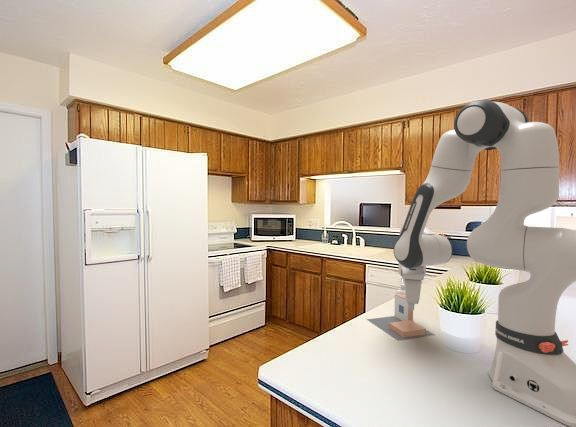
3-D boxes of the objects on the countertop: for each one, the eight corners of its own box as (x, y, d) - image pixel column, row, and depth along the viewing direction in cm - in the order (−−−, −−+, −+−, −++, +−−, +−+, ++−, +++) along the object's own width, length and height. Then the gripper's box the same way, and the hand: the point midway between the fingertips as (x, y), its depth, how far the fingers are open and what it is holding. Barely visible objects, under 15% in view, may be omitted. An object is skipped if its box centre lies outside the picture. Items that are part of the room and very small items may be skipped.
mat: (435, 335, 102) (435, 335, 102) (398, 341, 97) (398, 340, 97) (399, 316, 120) (399, 315, 120) (366, 320, 116) (366, 319, 116)
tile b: (412, 324, 111) (413, 300, 111) (408, 324, 111) (408, 300, 110) (398, 316, 119) (399, 293, 119) (394, 317, 118) (394, 294, 118)
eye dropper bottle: (405, 312, 125) (406, 283, 124) (394, 308, 130) (394, 280, 129) (412, 310, 127) (412, 282, 127) (401, 306, 132) (401, 279, 132)
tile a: (426, 328, 102) (403, 331, 99) (426, 334, 102) (403, 338, 99) (410, 320, 110) (388, 322, 107) (409, 325, 110) (388, 328, 107)
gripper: (402, 263, 115) (401, 299, 116) (402, 274, 96) (401, 317, 96) (420, 264, 113) (419, 301, 113) (424, 276, 94) (423, 320, 94)
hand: (411, 308), depth 105 cm, fingers closed
